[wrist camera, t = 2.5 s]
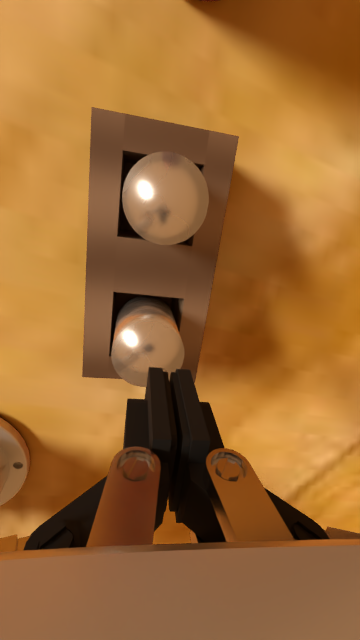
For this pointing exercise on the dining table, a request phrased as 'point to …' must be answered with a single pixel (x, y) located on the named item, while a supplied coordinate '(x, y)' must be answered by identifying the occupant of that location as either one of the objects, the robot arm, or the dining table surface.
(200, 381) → the dining table surface
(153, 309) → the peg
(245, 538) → the robot arm
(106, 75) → the dining table surface
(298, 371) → the dining table surface
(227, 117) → the dining table surface
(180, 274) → the walnut block
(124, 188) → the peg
